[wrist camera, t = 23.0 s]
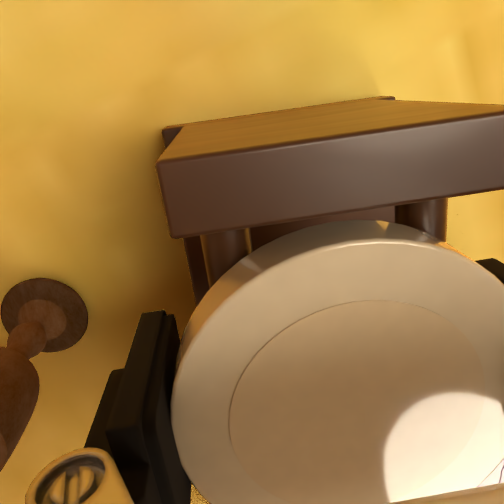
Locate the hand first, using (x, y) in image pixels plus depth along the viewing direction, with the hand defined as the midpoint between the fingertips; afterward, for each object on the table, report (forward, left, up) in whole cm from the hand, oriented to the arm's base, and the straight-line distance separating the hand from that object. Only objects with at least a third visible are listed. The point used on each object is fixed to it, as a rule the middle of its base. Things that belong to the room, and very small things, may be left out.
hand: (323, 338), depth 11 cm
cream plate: (0, 0, +2) cm, 2 cm away
